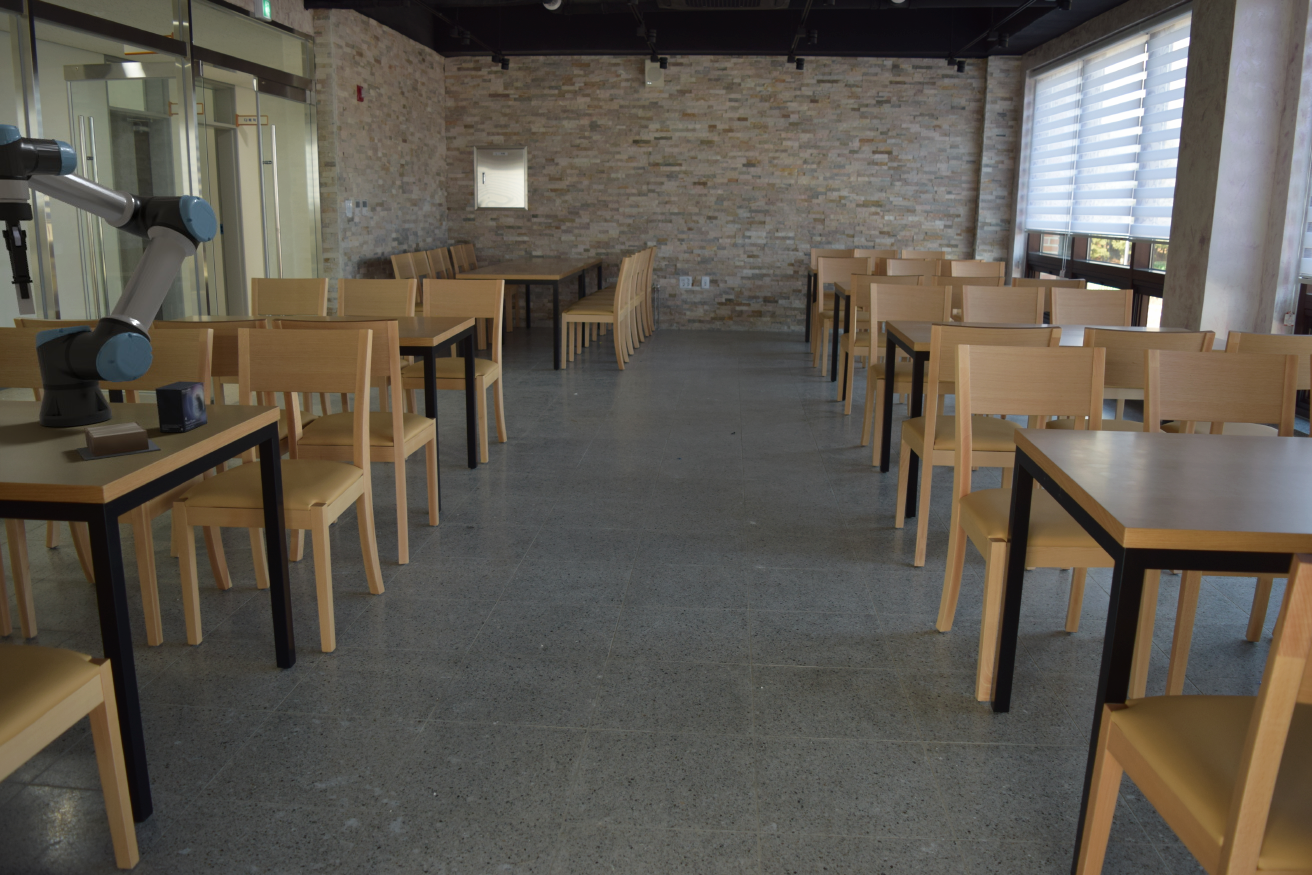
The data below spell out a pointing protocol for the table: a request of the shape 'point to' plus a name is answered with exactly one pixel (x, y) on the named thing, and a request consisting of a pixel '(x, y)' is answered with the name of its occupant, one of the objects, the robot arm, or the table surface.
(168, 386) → the small box
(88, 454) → the mat
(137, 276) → the robot arm
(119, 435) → the brown rectangular box
